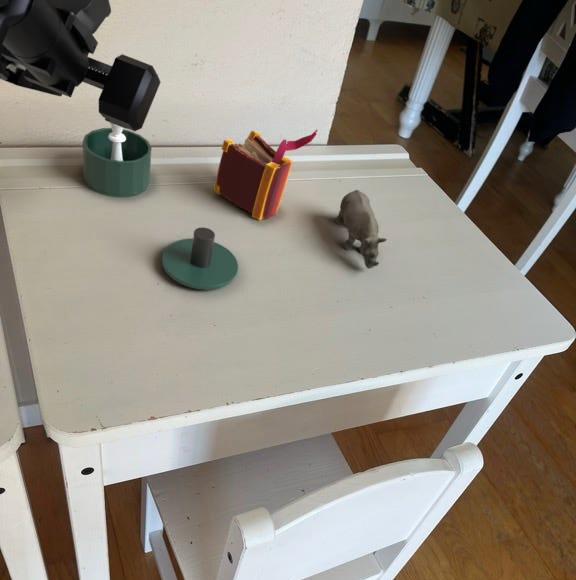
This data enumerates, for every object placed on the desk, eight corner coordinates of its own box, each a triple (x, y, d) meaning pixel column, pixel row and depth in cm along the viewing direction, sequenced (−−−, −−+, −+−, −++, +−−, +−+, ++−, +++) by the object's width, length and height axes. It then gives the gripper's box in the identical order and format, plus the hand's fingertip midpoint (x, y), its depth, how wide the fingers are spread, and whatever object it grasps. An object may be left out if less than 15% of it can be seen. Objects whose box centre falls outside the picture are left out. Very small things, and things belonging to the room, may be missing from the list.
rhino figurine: (354, 281, 79) (368, 243, 75) (329, 218, 88) (341, 180, 84) (383, 282, 80) (399, 245, 76) (356, 220, 89) (369, 182, 85)
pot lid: (145, 260, 73) (147, 224, 70) (202, 237, 79) (207, 202, 75) (196, 303, 70) (201, 268, 66) (252, 276, 76) (259, 242, 72)
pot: (71, 171, 82) (69, 136, 78) (123, 157, 87) (124, 122, 83) (110, 204, 79) (110, 168, 75) (162, 187, 84) (164, 153, 80)
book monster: (206, 189, 86) (270, 177, 93) (247, 227, 82) (310, 210, 89) (221, 115, 78) (290, 108, 85) (266, 153, 75) (333, 142, 82)
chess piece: (138, 188, 82) (141, 114, 75) (99, 187, 80) (98, 111, 73) (133, 167, 85) (135, 95, 77) (95, 166, 83) (94, 92, 76)
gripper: (157, -23, 55) (197, 68, 70) (-28, -92, 56) (51, 12, 72) (109, 95, 55) (160, 160, 71) (-74, 23, 56) (15, 102, 72)
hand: (97, 105), depth 71 cm, fingers open, 9 cm apart
